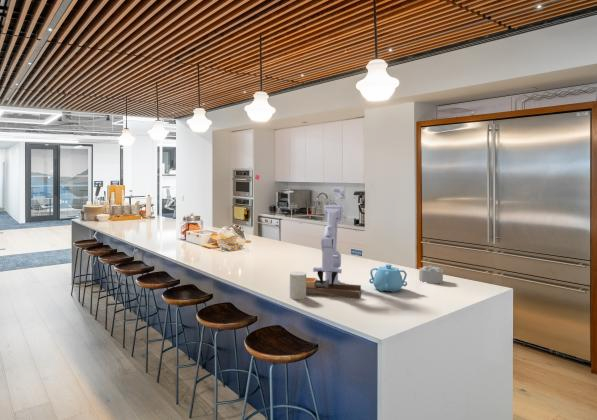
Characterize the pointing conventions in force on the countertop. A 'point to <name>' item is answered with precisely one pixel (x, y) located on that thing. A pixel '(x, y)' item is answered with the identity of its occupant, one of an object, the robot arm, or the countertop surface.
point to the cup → (297, 285)
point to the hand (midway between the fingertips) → (327, 286)
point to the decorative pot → (388, 278)
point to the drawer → (316, 283)
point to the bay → (336, 290)
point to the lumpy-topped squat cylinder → (431, 274)
